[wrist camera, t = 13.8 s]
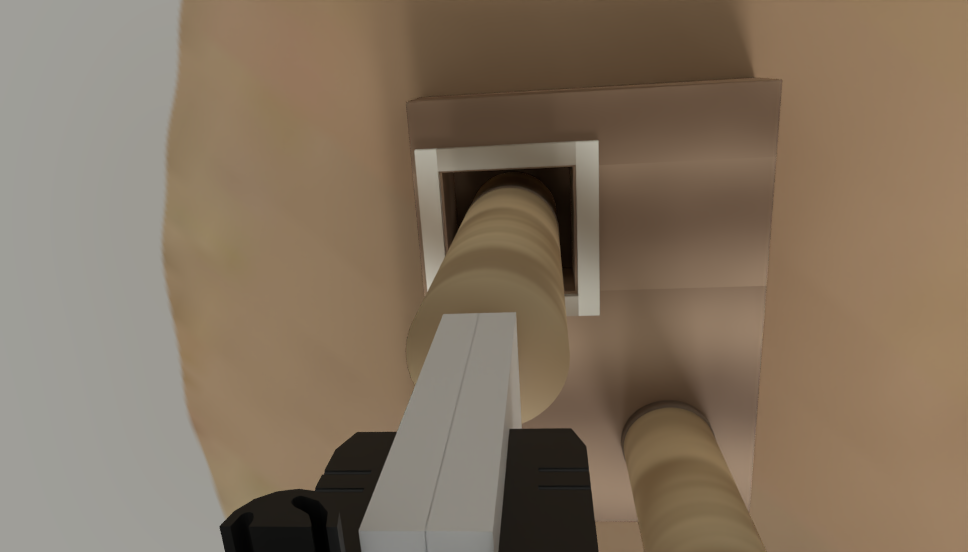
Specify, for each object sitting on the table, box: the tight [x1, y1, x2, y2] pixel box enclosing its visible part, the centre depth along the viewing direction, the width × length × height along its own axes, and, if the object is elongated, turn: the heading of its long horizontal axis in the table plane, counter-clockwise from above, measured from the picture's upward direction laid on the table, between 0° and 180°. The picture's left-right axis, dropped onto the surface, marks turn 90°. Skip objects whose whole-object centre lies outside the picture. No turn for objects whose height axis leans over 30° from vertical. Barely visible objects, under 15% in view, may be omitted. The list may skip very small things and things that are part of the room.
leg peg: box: [406, 172, 570, 424], centre depth 21 cm, size 4×4×14 cm
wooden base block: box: [406, 78, 782, 552], centre depth 22 cm, size 18×13×14 cm
